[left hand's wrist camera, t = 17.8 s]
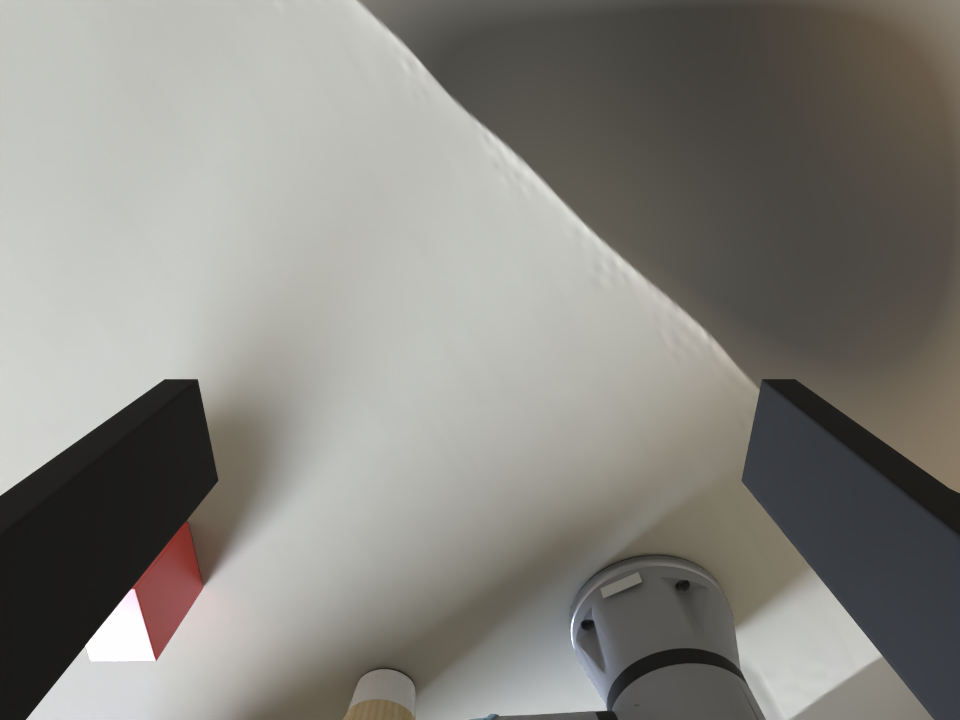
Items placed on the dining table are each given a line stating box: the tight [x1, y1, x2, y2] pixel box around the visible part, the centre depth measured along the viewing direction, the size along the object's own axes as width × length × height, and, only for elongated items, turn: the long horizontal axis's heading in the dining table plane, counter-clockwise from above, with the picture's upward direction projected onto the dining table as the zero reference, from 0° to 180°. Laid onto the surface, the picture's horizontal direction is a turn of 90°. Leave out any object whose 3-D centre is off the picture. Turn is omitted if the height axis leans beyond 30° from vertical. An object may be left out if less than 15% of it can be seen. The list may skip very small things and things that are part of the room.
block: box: [85, 522, 203, 661], centre depth 46 cm, size 6×8×8 cm
